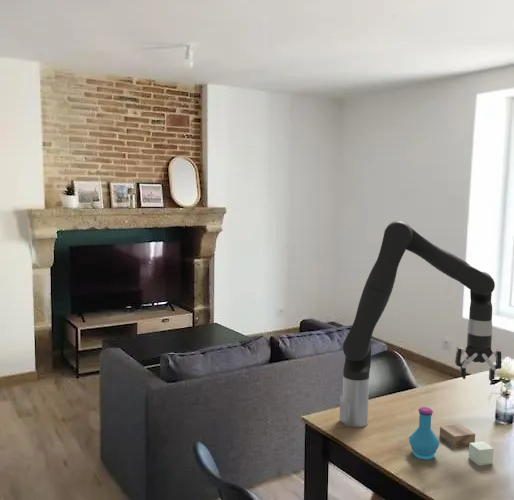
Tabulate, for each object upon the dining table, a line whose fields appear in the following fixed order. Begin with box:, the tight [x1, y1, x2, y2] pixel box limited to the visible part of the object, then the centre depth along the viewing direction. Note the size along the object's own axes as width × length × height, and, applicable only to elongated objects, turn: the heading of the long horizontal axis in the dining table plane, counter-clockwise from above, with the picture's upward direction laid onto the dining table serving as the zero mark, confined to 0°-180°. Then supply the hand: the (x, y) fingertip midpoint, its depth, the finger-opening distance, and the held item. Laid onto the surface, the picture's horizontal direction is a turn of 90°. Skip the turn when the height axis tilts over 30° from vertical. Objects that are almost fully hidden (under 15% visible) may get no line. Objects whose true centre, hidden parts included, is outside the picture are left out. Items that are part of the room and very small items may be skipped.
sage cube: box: [468, 441, 494, 466], centre depth 175 cm, size 5×5×5 cm
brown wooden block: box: [439, 423, 476, 448], centre depth 188 cm, size 8×8×4 cm
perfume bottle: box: [408, 406, 440, 460], centre depth 178 cm, size 9×9×15 cm
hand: (477, 379), depth 188 cm, fingers open, 8 cm apart
